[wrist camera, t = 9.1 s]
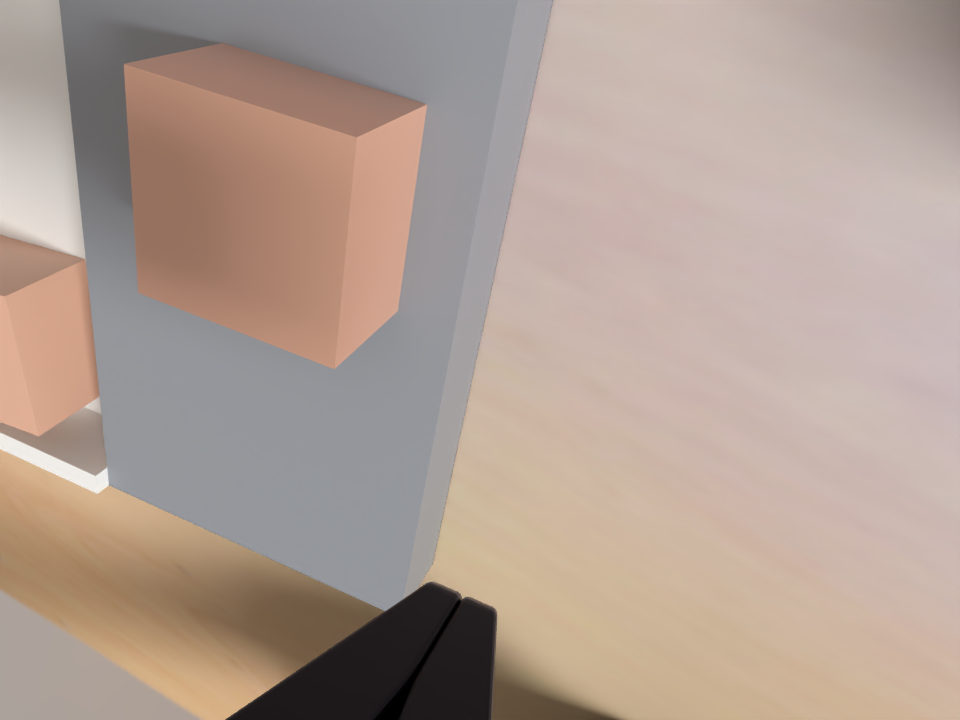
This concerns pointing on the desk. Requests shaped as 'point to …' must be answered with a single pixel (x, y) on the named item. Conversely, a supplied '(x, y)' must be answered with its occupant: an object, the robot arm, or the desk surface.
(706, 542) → the desk surface
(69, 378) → the tile
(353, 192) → the tile
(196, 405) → the bench board
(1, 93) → the tray
